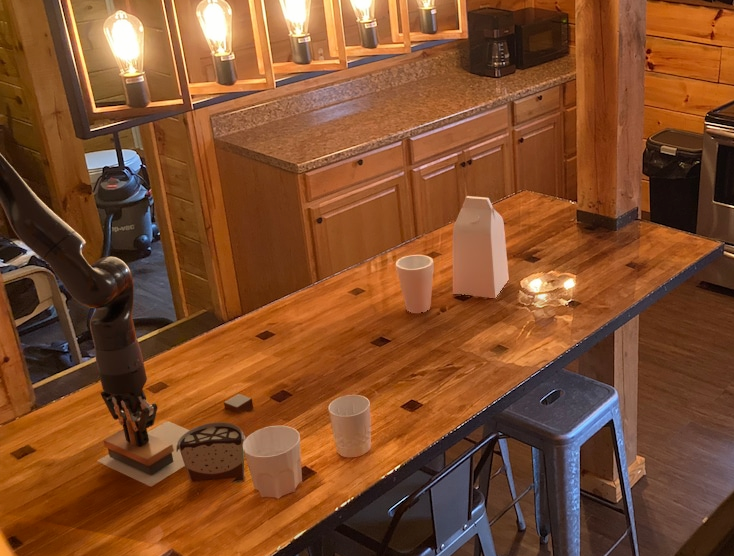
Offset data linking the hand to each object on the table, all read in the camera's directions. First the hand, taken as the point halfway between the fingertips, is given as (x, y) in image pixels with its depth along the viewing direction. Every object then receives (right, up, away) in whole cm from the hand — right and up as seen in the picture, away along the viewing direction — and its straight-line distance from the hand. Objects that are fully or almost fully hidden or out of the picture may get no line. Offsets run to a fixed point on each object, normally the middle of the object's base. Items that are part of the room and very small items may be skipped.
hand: (137, 441), depth 181 cm
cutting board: (+2, -4, +5) cm, 7 cm away
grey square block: (+12, +3, +20) cm, 23 cm away
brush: (0, -4, +2) cm, 4 cm away
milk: (+56, +27, +76) cm, 98 cm away
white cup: (+39, -3, +8) cm, 40 cm away
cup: (+28, -8, -3) cm, 29 cm away
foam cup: (+41, +22, +65) cm, 80 cm away
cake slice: (+16, -6, 0) cm, 17 cm away
